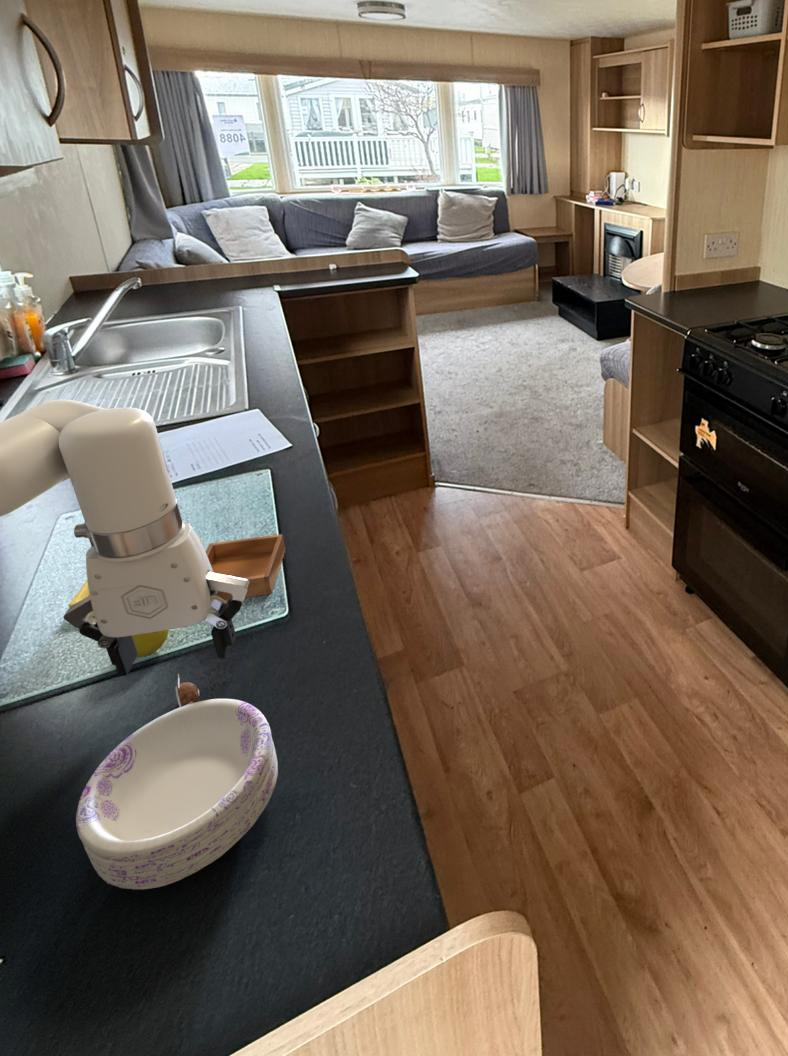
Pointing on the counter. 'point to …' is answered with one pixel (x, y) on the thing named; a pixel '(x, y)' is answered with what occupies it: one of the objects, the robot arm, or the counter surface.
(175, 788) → the paper bowls
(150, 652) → the lemon
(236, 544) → the brown bin
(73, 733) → the counter surface
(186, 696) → the chocolate
